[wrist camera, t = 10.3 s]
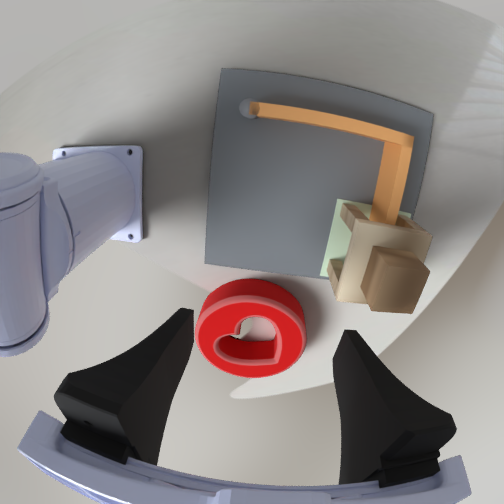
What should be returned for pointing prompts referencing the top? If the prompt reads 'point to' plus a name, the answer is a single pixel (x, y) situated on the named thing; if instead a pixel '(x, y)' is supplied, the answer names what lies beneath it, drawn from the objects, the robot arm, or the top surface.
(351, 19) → the top surface
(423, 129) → the mat
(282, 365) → the decorative ornament
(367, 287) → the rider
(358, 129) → the rail
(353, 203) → the end pad
